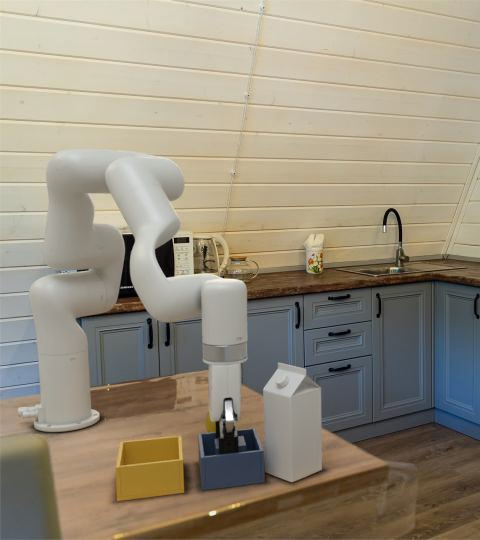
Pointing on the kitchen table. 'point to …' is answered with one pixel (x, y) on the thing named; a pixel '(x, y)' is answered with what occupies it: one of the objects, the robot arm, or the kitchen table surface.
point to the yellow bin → (149, 468)
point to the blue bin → (231, 462)
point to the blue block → (240, 442)
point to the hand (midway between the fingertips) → (226, 449)
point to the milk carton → (292, 424)
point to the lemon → (210, 424)
